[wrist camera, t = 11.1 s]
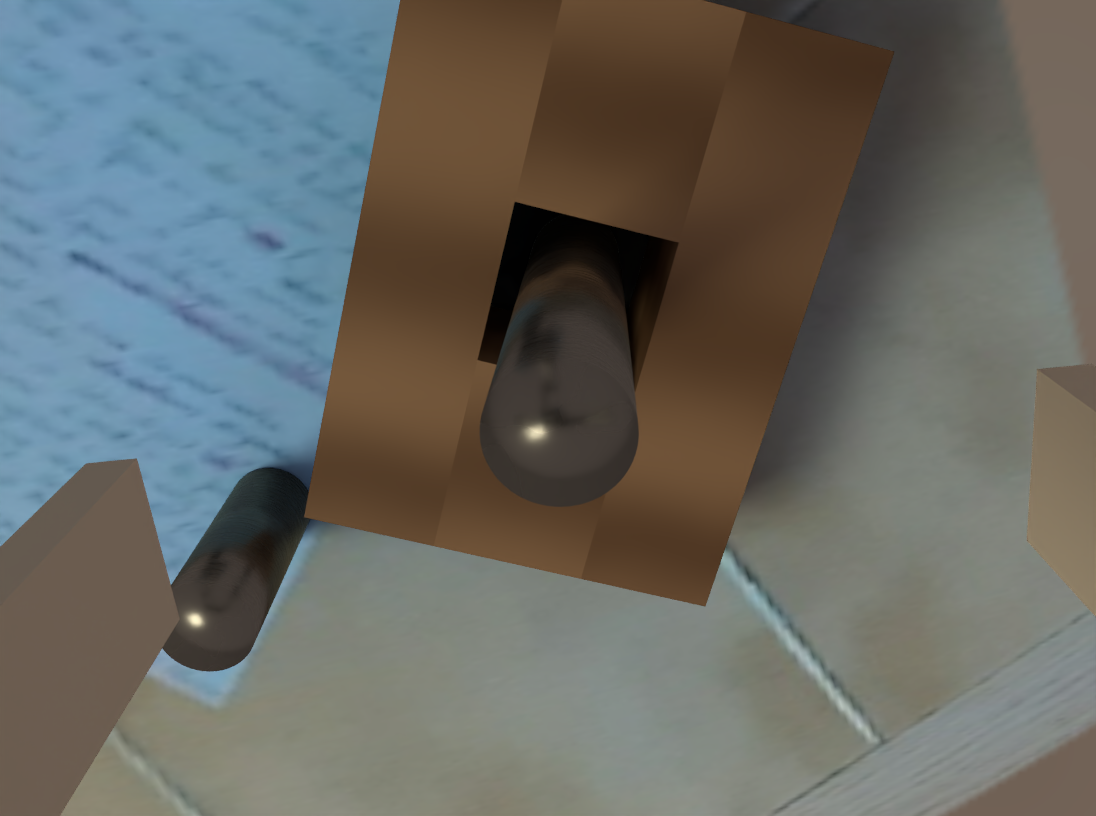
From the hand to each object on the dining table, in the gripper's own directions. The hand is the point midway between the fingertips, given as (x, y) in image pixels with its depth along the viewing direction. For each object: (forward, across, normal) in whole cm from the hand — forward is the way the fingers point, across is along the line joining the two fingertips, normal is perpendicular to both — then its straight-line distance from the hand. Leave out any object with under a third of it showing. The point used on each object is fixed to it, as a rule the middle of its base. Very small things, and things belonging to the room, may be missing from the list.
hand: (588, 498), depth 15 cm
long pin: (+19, 0, -1) cm, 19 cm away
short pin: (+19, -11, -8) cm, 24 cm away
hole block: (+19, 0, -1) cm, 19 cm away
